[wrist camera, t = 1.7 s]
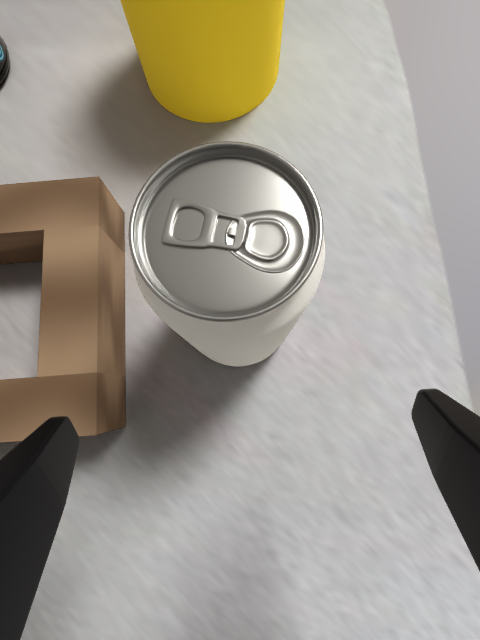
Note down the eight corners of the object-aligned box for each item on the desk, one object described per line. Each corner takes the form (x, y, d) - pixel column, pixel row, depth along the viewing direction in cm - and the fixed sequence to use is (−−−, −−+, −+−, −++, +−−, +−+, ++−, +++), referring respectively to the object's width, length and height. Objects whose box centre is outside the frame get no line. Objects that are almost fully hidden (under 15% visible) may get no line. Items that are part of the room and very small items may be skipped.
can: (278, 377, 21) (319, 359, 9) (176, 355, 21) (84, 311, 9) (297, 278, 22) (354, 147, 10) (200, 259, 22) (146, 112, 11)
